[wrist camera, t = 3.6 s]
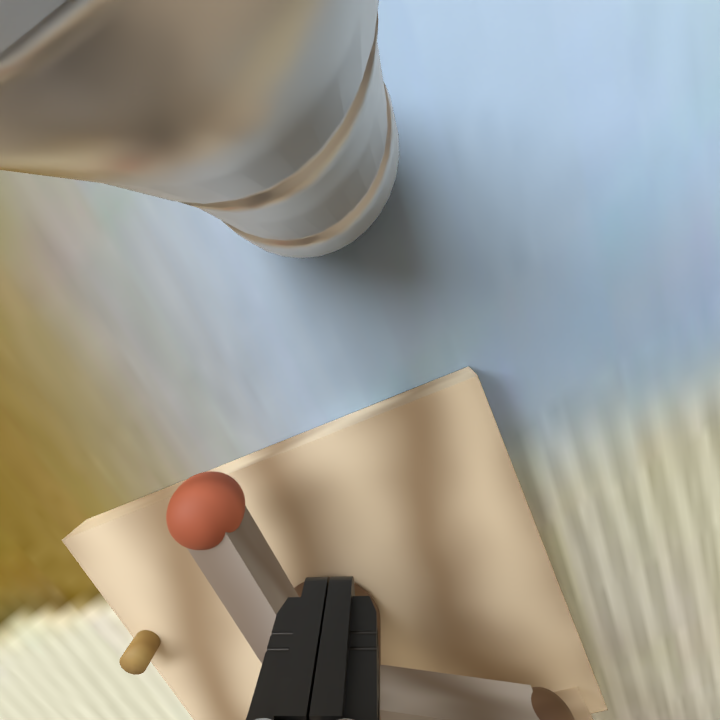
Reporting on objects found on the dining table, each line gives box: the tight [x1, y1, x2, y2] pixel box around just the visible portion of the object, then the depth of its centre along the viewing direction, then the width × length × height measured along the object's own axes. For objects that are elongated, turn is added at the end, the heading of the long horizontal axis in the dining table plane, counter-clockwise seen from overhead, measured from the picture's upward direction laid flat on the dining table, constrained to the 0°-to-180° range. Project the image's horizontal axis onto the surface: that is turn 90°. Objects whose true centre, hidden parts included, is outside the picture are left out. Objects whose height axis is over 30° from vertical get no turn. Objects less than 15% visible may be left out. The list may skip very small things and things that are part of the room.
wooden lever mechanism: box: [62, 366, 608, 720], centre depth 15 cm, size 22×20×10 cm
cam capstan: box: [166, 471, 575, 720], centre depth 14 cm, size 18×16×7 cm
